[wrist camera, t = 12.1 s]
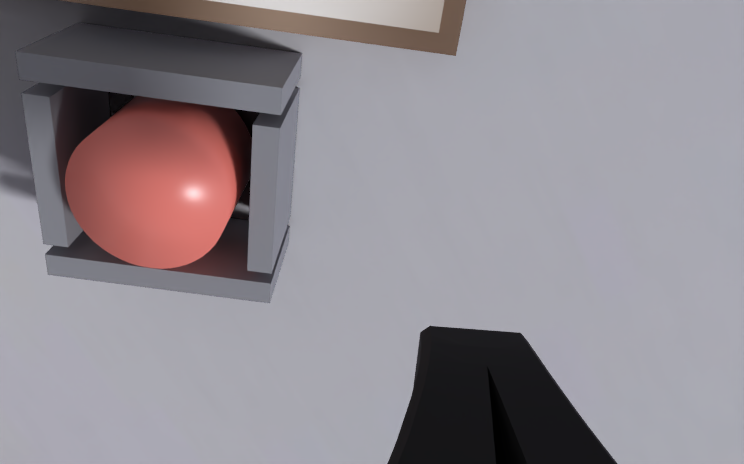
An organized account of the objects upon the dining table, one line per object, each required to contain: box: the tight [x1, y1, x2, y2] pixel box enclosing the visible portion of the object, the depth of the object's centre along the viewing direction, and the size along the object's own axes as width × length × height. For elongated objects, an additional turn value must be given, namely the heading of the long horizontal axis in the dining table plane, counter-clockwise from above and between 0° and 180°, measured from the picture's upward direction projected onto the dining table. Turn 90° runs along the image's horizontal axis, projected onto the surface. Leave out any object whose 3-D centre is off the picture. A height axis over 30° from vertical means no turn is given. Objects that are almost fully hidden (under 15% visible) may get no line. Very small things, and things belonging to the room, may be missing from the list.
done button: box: [65, 96, 252, 269], centre depth 16 cm, size 4×4×3 cm
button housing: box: [15, 23, 302, 303], centre depth 16 cm, size 6×6×3 cm
